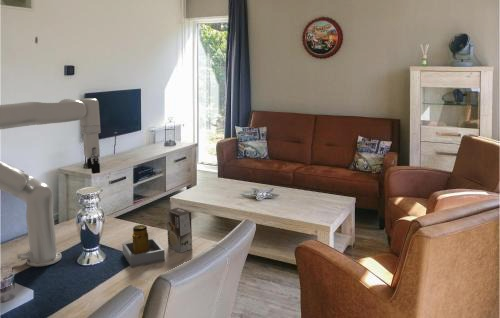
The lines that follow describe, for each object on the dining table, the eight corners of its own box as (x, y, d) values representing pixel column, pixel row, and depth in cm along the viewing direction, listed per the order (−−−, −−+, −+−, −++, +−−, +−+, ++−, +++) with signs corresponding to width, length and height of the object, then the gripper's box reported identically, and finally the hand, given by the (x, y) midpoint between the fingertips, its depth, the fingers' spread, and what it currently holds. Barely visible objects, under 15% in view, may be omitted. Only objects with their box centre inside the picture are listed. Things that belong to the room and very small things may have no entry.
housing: (131, 267, 174) (131, 256, 174) (123, 254, 187) (122, 243, 186) (164, 260, 180) (164, 249, 179) (154, 247, 193) (153, 237, 192)
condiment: (133, 252, 186) (132, 224, 183) (155, 251, 187) (153, 223, 184) (131, 259, 179) (129, 230, 176) (153, 258, 180) (152, 229, 177)
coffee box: (193, 248, 192) (192, 212, 188) (181, 253, 187) (179, 215, 184) (179, 242, 198) (178, 207, 194) (167, 247, 193) (165, 210, 190)
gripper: (77, 127, 192) (80, 167, 195) (84, 133, 177) (87, 176, 180) (96, 126, 195) (99, 165, 199) (104, 131, 180) (107, 174, 184)
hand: (93, 170), depth 190 cm, fingers open, 9 cm apart
